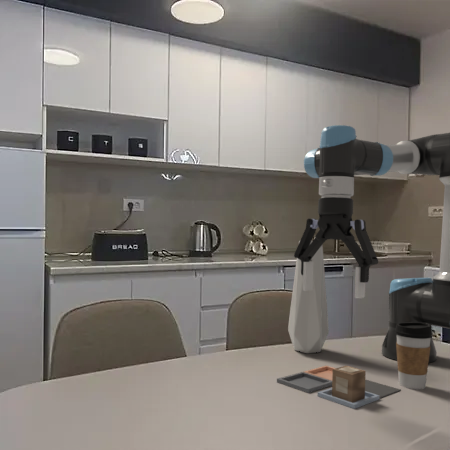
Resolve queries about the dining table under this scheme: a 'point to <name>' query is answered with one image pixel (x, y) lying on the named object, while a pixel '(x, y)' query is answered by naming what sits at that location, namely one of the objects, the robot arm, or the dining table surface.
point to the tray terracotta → (322, 372)
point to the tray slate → (368, 399)
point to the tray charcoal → (305, 382)
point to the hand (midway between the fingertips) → (332, 294)
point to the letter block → (348, 383)
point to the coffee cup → (413, 353)
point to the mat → (379, 389)
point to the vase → (309, 309)
